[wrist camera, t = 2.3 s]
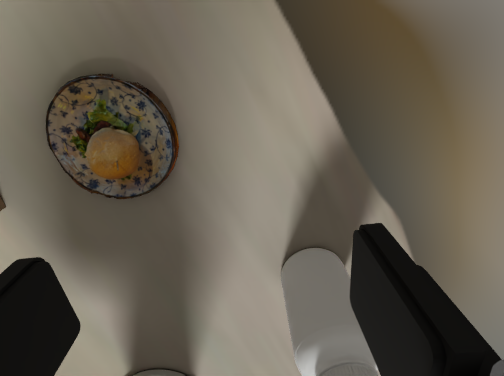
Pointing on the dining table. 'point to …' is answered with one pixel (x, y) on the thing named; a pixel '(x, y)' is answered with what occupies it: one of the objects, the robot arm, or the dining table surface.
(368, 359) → the pill bottle
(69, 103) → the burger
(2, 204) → the rail
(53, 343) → the robot arm
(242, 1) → the dining table surface
